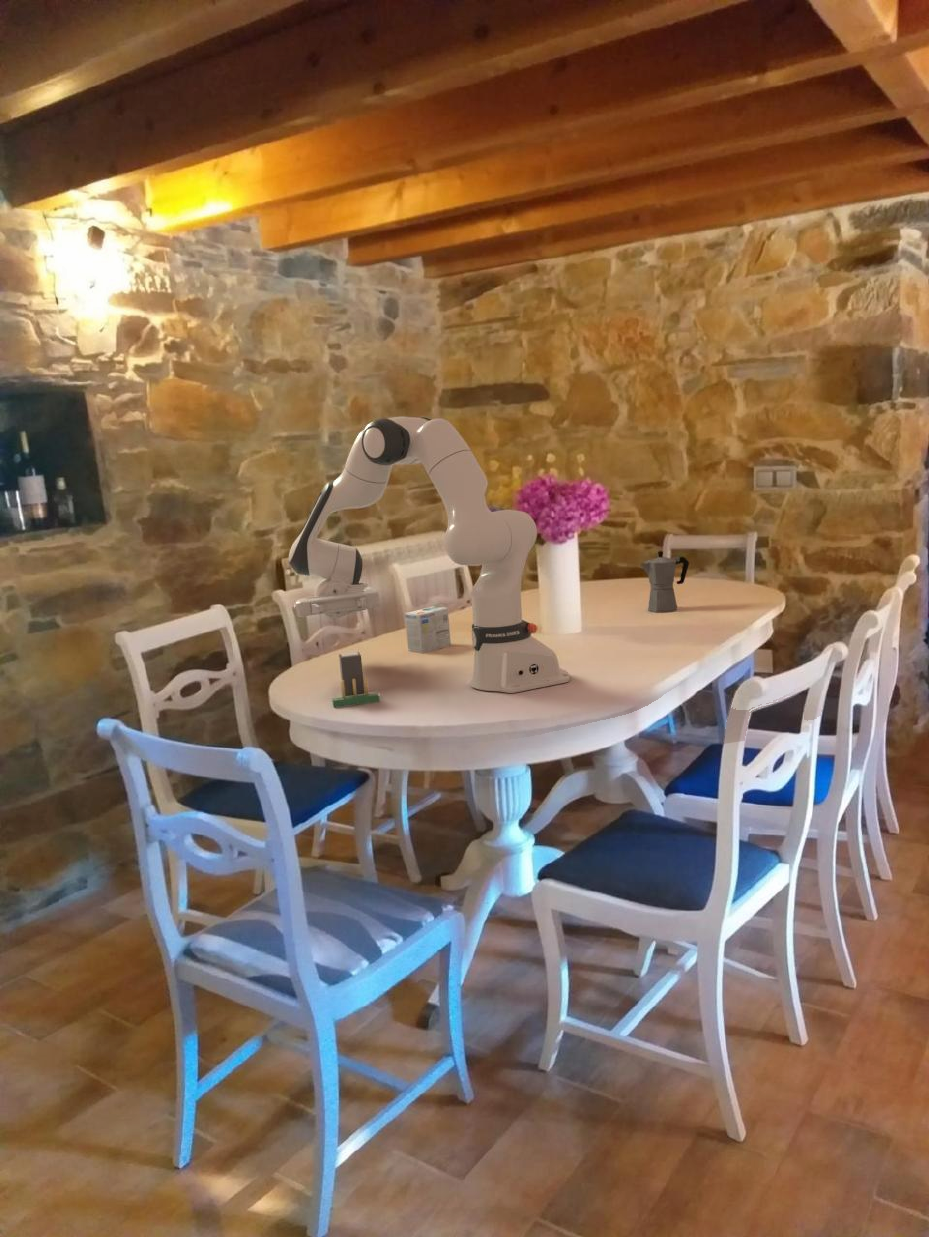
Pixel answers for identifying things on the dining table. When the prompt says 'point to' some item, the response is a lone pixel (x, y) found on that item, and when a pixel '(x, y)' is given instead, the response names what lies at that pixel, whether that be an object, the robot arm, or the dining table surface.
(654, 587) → the coffeepot
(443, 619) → the light bulb box
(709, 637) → the dining table surface
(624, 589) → the dining table surface
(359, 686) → the block
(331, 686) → the dining table surface
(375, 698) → the header strip
